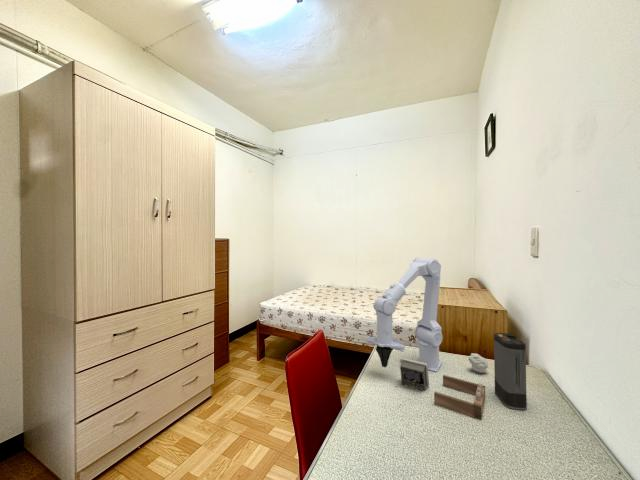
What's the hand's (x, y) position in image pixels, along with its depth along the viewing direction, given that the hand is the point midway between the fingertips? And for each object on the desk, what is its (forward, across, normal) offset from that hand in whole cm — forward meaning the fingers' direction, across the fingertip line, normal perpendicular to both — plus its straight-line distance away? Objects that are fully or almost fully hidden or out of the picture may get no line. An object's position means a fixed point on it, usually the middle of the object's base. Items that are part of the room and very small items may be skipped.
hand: (384, 366), depth 98 cm
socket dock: (+4, +25, 0) cm, 25 cm away
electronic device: (+4, +38, +9) cm, 39 cm away
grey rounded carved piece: (+4, +28, +25) cm, 38 cm away
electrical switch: (+4, +11, 0) cm, 12 cm away
